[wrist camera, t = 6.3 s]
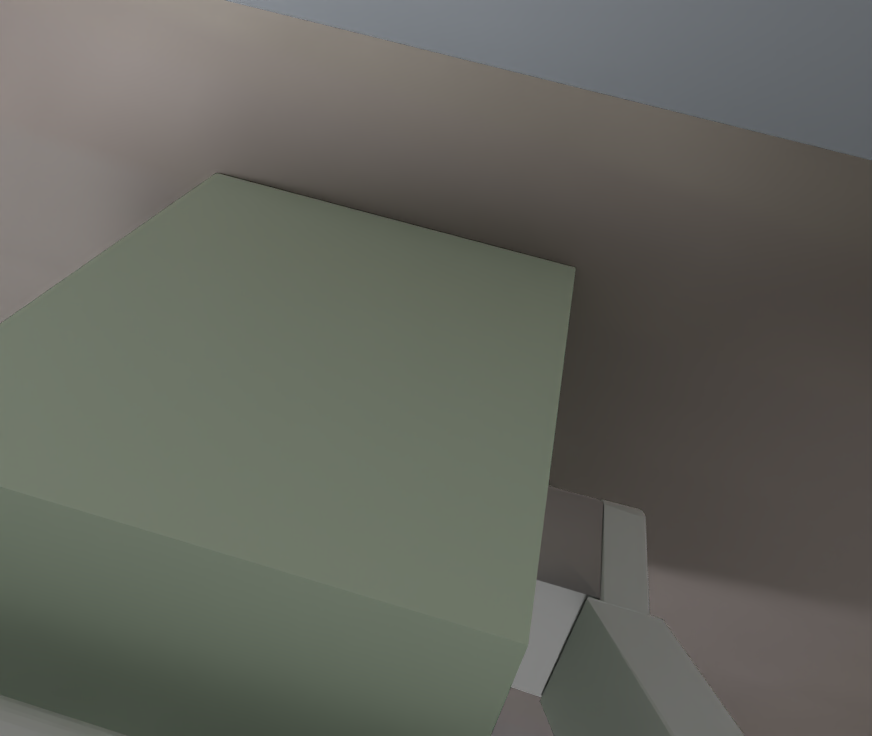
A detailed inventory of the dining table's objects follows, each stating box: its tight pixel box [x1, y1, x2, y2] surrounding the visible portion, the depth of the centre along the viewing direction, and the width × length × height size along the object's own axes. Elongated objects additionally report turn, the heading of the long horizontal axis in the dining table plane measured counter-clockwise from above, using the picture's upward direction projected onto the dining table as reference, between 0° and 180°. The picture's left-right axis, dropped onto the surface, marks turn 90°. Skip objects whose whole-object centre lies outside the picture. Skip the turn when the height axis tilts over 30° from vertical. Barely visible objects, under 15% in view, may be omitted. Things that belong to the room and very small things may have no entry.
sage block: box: [0, 173, 576, 736], centre depth 9 cm, size 5×5×6 cm
